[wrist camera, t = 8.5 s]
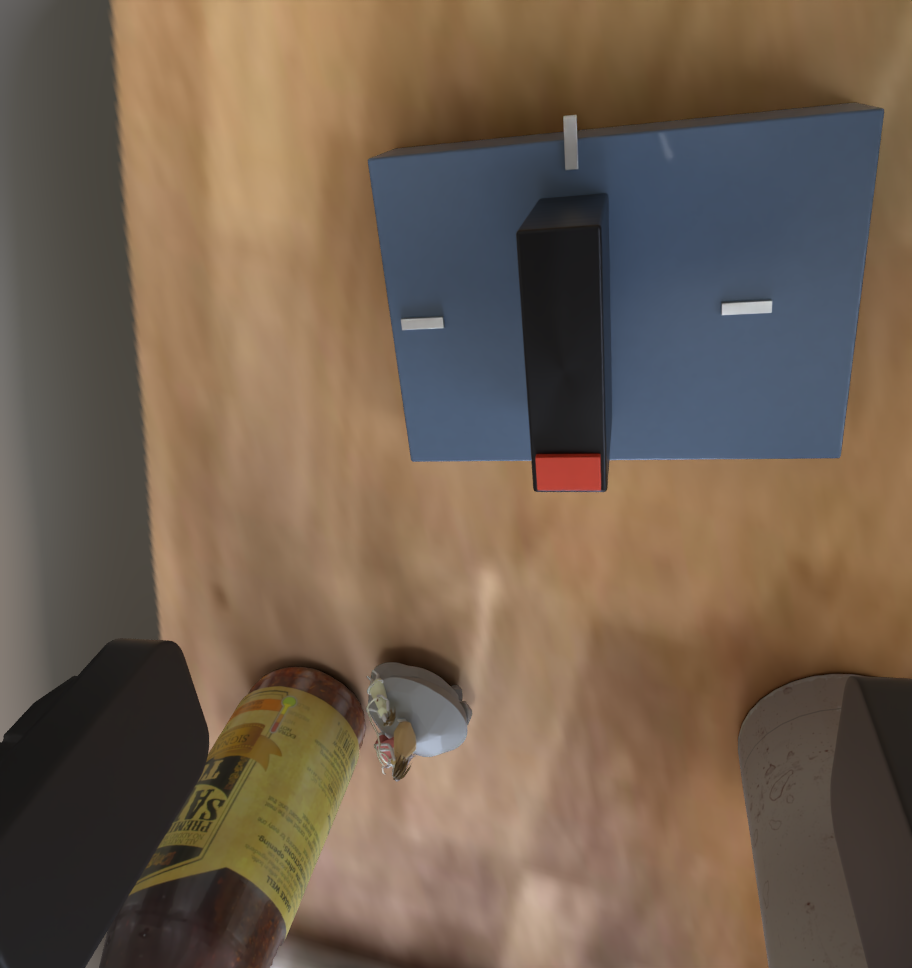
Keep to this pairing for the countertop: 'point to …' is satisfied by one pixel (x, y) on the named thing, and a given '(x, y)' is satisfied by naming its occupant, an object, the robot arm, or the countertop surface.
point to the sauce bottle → (245, 831)
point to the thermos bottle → (798, 825)
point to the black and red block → (567, 341)
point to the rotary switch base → (641, 280)
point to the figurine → (414, 715)
